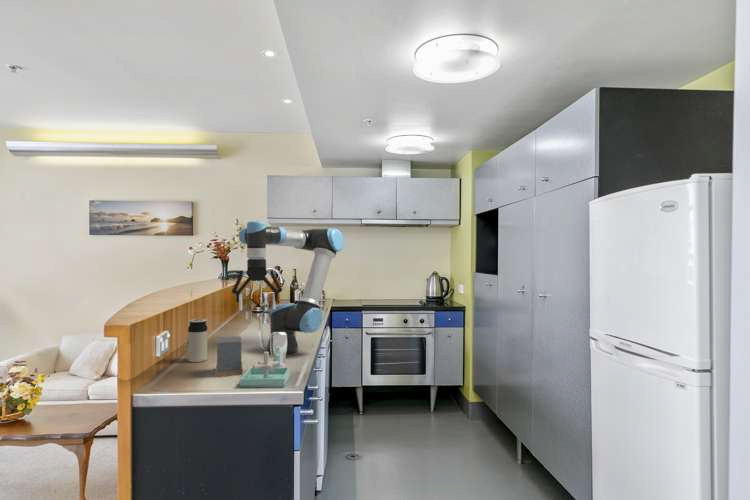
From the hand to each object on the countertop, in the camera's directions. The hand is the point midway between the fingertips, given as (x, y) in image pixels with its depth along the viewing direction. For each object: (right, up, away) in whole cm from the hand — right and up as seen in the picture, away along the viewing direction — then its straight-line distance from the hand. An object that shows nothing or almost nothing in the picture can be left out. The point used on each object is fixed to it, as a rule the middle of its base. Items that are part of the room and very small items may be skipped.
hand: (257, 309), depth 183 cm
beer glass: (+9, -25, -3) cm, 26 cm away
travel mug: (-30, -25, +12) cm, 41 cm away
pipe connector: (+8, -24, -19) cm, 31 cm away
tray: (+8, -24, -19) cm, 32 cm away
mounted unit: (-10, -24, -6) cm, 27 cm away
